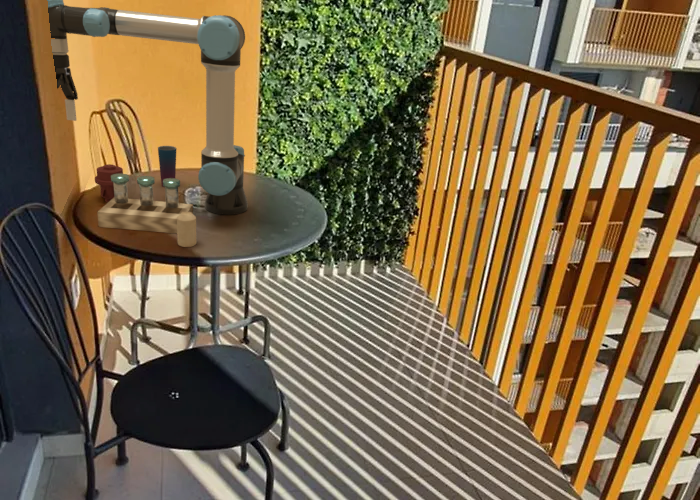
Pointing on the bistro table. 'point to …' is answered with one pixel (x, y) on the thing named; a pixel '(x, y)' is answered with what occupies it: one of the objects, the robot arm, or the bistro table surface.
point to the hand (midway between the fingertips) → (62, 124)
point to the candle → (186, 229)
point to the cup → (167, 162)
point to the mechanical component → (107, 180)
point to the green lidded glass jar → (146, 190)
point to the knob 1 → (120, 187)
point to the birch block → (141, 216)
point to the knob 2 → (171, 192)
